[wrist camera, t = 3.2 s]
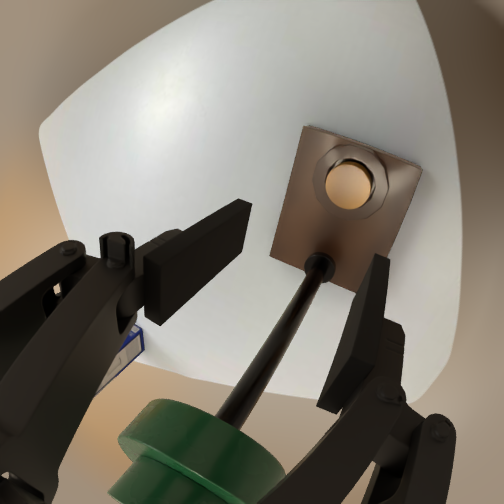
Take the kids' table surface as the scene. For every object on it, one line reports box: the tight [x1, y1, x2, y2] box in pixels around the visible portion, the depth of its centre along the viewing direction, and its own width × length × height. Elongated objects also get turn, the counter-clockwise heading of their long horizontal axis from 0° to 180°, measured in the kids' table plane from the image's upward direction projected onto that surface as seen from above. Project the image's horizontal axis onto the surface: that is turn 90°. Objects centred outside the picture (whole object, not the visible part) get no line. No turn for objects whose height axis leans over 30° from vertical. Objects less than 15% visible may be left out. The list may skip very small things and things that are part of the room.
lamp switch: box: [326, 161, 372, 209], centre depth 26 cm, size 4×4×2 cm
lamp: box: [107, 252, 336, 504], centre depth 21 cm, size 9×9×27 cm
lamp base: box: [269, 125, 422, 293], centre depth 30 cm, size 12×15×4 cm
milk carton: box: [93, 324, 145, 398], centre depth 53 cm, size 7×7×20 cm
